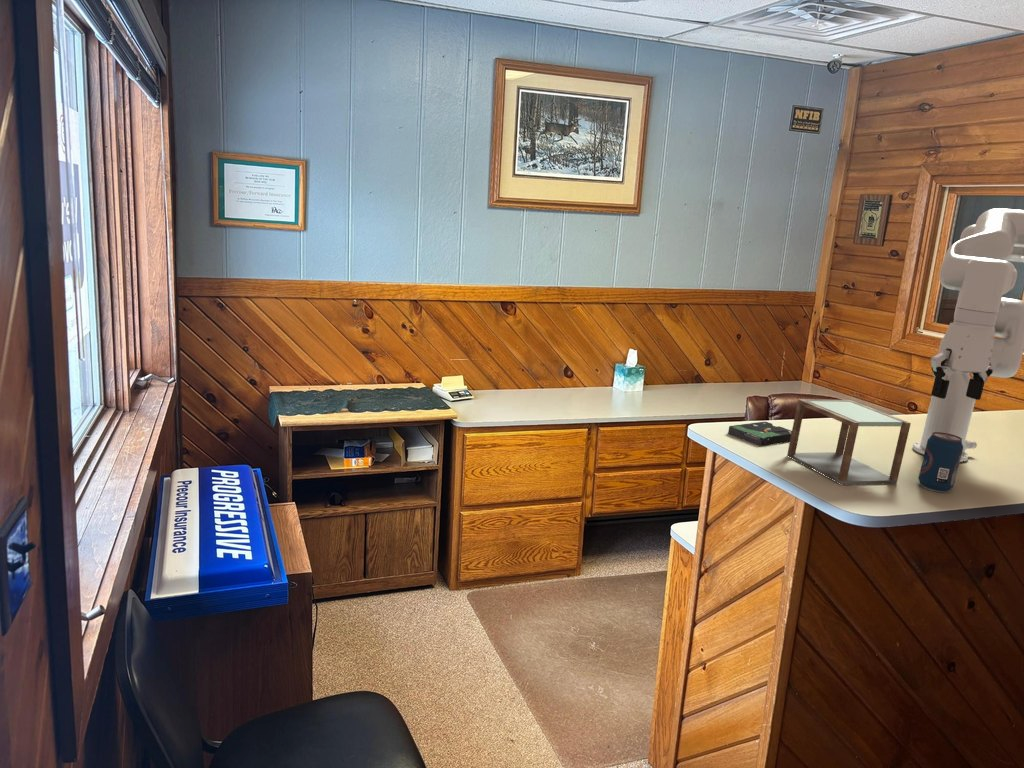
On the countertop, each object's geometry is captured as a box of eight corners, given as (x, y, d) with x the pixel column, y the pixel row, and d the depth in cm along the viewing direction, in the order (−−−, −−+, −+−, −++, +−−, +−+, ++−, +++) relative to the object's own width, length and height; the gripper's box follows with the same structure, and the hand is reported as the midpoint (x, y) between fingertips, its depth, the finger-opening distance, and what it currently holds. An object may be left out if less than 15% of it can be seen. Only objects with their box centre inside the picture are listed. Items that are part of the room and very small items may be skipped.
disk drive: (762, 431, 202) (726, 435, 193) (764, 420, 201) (728, 425, 193) (796, 442, 194) (760, 448, 185) (798, 432, 193) (762, 437, 185)
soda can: (913, 479, 172) (925, 429, 169) (947, 485, 170) (960, 434, 167) (921, 489, 165) (933, 437, 162) (956, 495, 164) (969, 443, 161)
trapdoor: (807, 405, 176) (808, 401, 175) (849, 405, 179) (849, 401, 179) (857, 426, 161) (858, 421, 161) (901, 426, 165) (902, 422, 165)
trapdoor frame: (787, 456, 180) (798, 399, 176) (838, 455, 184) (850, 400, 181) (841, 485, 163) (854, 422, 160) (896, 483, 168) (910, 423, 164)
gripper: (990, 318, 165) (971, 394, 169) (928, 313, 160) (910, 392, 164) (1021, 324, 158) (1001, 403, 162) (958, 319, 153) (938, 401, 157)
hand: (955, 397), depth 163 cm, fingers open, 9 cm apart
